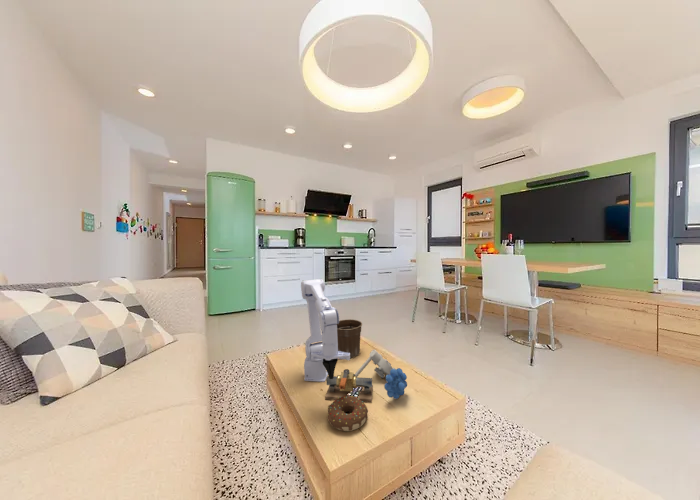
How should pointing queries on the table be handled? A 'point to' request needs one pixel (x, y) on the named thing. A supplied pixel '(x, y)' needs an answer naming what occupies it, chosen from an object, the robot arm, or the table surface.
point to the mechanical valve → (377, 359)
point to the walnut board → (339, 393)
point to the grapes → (395, 383)
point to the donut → (347, 420)
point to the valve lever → (344, 379)
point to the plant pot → (349, 336)
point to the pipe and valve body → (350, 383)
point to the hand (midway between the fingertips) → (331, 377)
